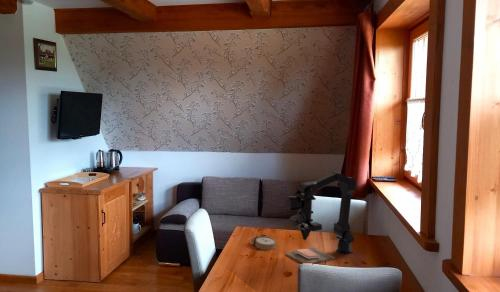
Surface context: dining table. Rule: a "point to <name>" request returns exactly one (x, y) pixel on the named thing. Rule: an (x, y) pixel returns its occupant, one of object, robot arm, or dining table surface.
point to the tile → (307, 253)
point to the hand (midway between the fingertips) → (304, 239)
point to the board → (302, 259)
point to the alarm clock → (264, 242)
